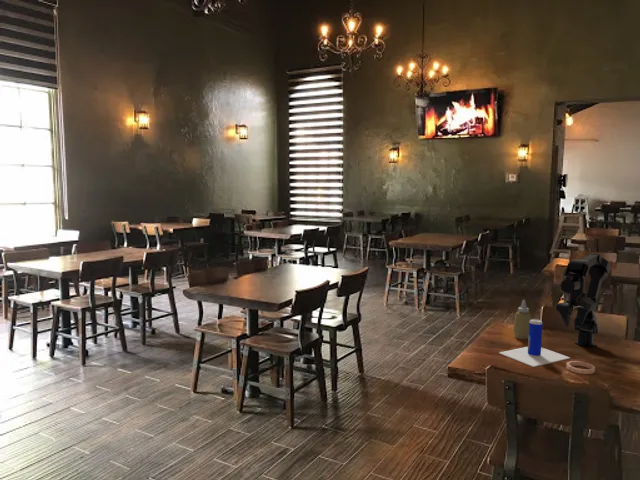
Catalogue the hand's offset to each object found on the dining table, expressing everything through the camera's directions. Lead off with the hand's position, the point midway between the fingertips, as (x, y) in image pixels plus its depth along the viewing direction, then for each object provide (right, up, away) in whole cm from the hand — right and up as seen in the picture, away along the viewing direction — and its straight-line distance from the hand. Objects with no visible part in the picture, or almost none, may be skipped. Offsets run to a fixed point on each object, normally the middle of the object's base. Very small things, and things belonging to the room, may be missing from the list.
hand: (574, 325), depth 228 cm
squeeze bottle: (-15, -10, +21) cm, 27 cm away
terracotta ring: (-6, -15, -18) cm, 24 cm away
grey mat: (-19, -13, -4) cm, 23 cm away
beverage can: (-19, -12, -4) cm, 23 cm away
